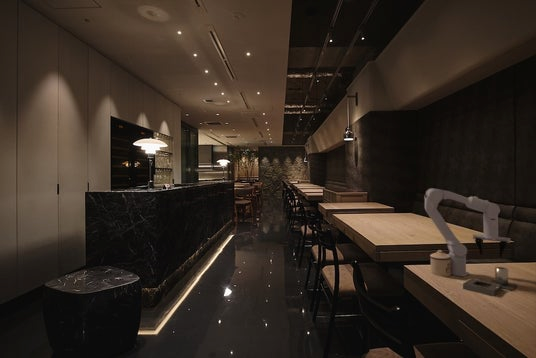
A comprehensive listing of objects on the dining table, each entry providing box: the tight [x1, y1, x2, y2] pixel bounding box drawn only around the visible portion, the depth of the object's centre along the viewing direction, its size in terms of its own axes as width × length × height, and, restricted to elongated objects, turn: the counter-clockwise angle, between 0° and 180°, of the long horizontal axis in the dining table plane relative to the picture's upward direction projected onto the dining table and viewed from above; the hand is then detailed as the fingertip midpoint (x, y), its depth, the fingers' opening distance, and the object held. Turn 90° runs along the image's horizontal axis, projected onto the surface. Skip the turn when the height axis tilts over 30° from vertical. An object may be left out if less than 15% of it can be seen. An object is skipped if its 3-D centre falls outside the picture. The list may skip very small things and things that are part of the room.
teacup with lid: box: [429, 249, 452, 277], centre depth 151 cm, size 12×9×12 cm
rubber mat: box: [489, 279, 518, 292], centre depth 132 cm, size 9×9×1 cm
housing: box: [462, 277, 503, 297], centre depth 128 cm, size 11×11×2 cm
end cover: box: [494, 266, 509, 286], centre depth 132 cm, size 5×5×7 cm
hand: (491, 255), depth 145 cm, fingers open, 7 cm apart
